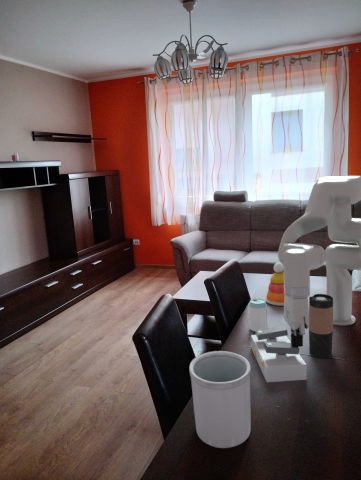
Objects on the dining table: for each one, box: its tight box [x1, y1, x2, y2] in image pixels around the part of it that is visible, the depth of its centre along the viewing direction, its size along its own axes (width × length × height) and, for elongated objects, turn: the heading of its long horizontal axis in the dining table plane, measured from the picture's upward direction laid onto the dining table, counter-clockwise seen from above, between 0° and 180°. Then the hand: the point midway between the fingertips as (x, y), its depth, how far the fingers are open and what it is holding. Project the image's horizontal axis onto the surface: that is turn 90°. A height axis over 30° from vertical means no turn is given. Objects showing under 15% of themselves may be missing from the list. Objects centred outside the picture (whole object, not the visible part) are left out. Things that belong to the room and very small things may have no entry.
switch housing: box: [250, 334, 307, 383], centre depth 123 cm, size 22×12×6 cm, turn 1°
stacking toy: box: [264, 261, 285, 307], centre depth 175 cm, size 14×14×20 cm
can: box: [248, 298, 268, 333], centre depth 148 cm, size 7×7×12 cm
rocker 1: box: [255, 325, 289, 340], centre depth 128 cm, size 4×10×2 cm, turn 91°
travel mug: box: [308, 293, 334, 359], centre depth 127 cm, size 8×8×20 cm
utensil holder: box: [189, 350, 252, 449], centre depth 93 cm, size 15×15×18 cm
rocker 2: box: [264, 342, 300, 355], centre depth 117 cm, size 4×10×2 cm, turn 91°
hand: (296, 345), depth 117 cm, fingers closed
